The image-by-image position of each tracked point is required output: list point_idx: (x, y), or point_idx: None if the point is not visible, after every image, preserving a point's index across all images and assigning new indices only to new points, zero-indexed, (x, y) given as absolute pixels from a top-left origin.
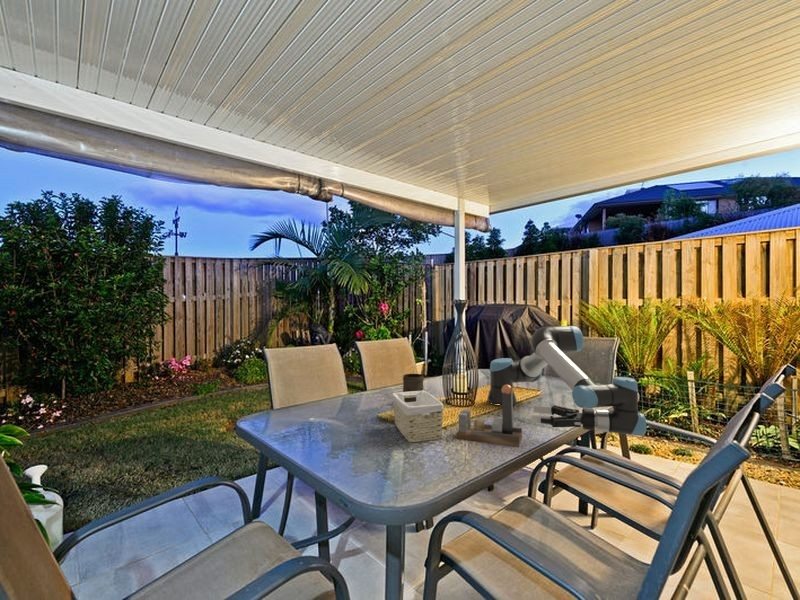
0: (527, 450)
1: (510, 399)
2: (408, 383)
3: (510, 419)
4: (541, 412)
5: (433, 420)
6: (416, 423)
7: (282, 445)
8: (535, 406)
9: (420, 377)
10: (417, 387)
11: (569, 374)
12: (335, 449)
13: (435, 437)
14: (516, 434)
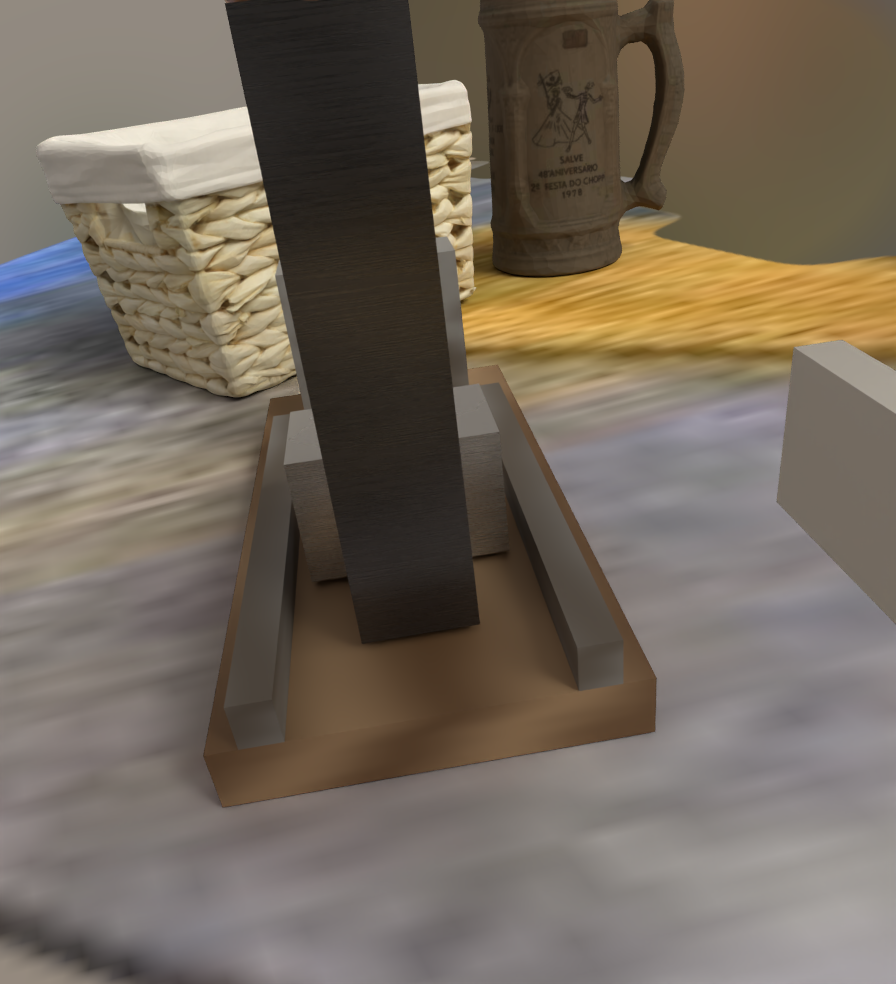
0: (112, 938)
1: (248, 111)
2: (485, 43)
3: (320, 443)
4: (884, 595)
5: (160, 265)
6: (105, 261)
7: (38, 257)
8: (817, 383)
9: None
10: (511, 69)
11: None
12: (11, 303)
13: (211, 380)
14: (475, 664)
